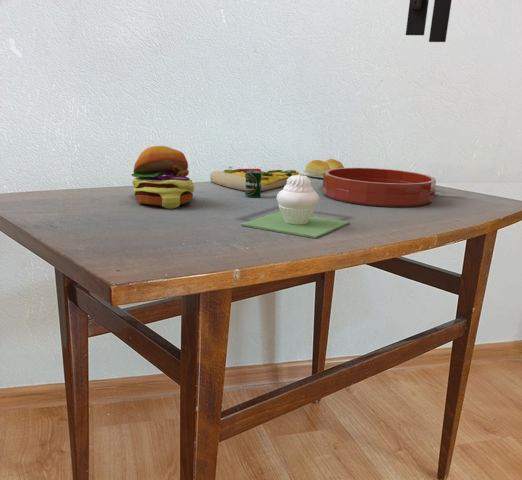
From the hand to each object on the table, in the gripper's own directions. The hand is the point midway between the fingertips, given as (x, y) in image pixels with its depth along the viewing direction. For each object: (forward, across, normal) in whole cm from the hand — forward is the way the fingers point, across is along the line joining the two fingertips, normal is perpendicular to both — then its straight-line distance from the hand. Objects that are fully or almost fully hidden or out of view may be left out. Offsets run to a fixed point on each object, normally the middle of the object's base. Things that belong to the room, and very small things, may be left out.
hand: (426, 39), depth 97 cm
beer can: (+27, +14, -24) cm, 39 cm away
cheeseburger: (+27, +30, -32) cm, 51 cm away
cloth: (+27, +30, -7) cm, 41 cm away
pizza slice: (+27, 0, -29) cm, 39 cm away
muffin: (+26, +30, -7) cm, 40 cm away
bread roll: (+27, -18, -24) cm, 40 cm away
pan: (+27, -2, -6) cm, 27 cm away
